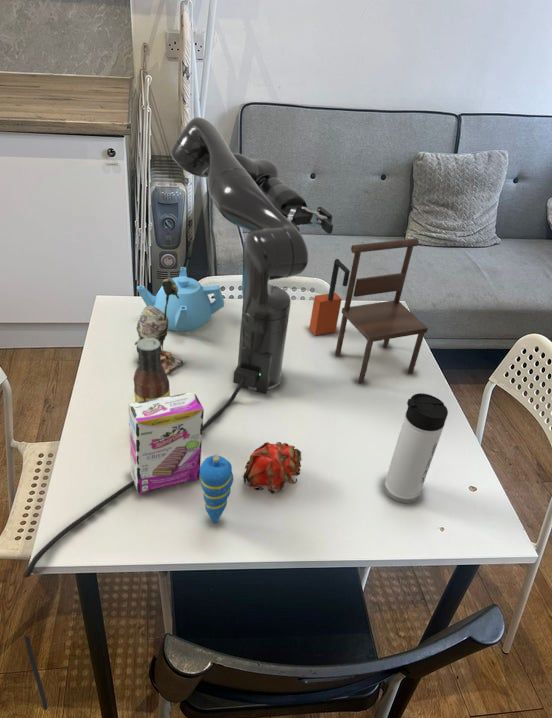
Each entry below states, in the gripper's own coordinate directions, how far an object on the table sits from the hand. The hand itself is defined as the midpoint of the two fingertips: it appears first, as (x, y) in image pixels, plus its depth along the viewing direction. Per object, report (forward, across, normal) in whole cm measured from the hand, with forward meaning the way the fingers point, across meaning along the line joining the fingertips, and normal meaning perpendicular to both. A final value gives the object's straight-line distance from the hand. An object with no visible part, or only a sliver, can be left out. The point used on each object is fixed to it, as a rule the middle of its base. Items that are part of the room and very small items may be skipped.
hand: (314, 231), depth 147 cm
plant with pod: (+13, +41, -20) cm, 48 cm away
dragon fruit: (+53, +32, -20) cm, 65 cm away
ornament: (+59, +44, -20) cm, 76 cm away
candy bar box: (+47, +49, -20) cm, 71 cm away
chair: (+27, -5, -20) cm, 34 cm away
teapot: (-2, +31, -20) cm, 37 cm away
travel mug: (+62, +10, -20) cm, 66 cm away
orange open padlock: (+14, 0, -20) cm, 24 cm away
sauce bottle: (+35, +48, -20) cm, 62 cm away
